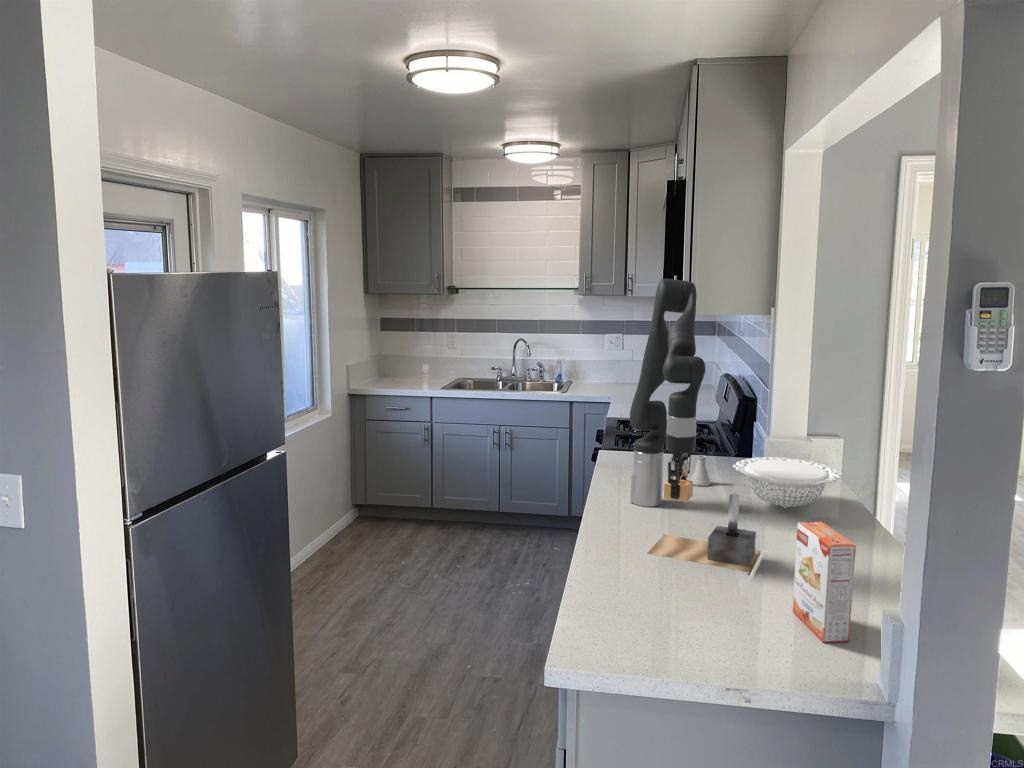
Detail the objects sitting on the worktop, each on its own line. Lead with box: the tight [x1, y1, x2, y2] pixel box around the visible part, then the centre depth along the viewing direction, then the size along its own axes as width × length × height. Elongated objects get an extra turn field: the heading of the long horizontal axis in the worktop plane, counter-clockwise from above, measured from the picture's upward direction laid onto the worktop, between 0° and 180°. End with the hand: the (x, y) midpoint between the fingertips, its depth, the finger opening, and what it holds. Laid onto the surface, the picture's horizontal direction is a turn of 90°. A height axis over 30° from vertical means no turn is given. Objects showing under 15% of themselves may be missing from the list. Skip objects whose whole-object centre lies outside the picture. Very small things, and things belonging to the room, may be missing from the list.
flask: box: [690, 454, 712, 487], centre depth 265 cm, size 7×7×10 cm
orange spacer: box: [663, 478, 694, 503], centre depth 199 cm, size 6×6×4 cm
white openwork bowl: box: [732, 456, 844, 508], centre depth 238 cm, size 32×32×13 cm
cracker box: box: [792, 521, 857, 643], centre depth 158 cm, size 14×6×21 cm, turn 5°
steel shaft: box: [727, 493, 740, 537], centre depth 195 cm, size 2×2×11 cm
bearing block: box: [646, 525, 761, 576], centre depth 199 cm, size 26×16×7 cm, turn 63°
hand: (678, 494), depth 199 cm, fingers closed on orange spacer, 6 cm apart
